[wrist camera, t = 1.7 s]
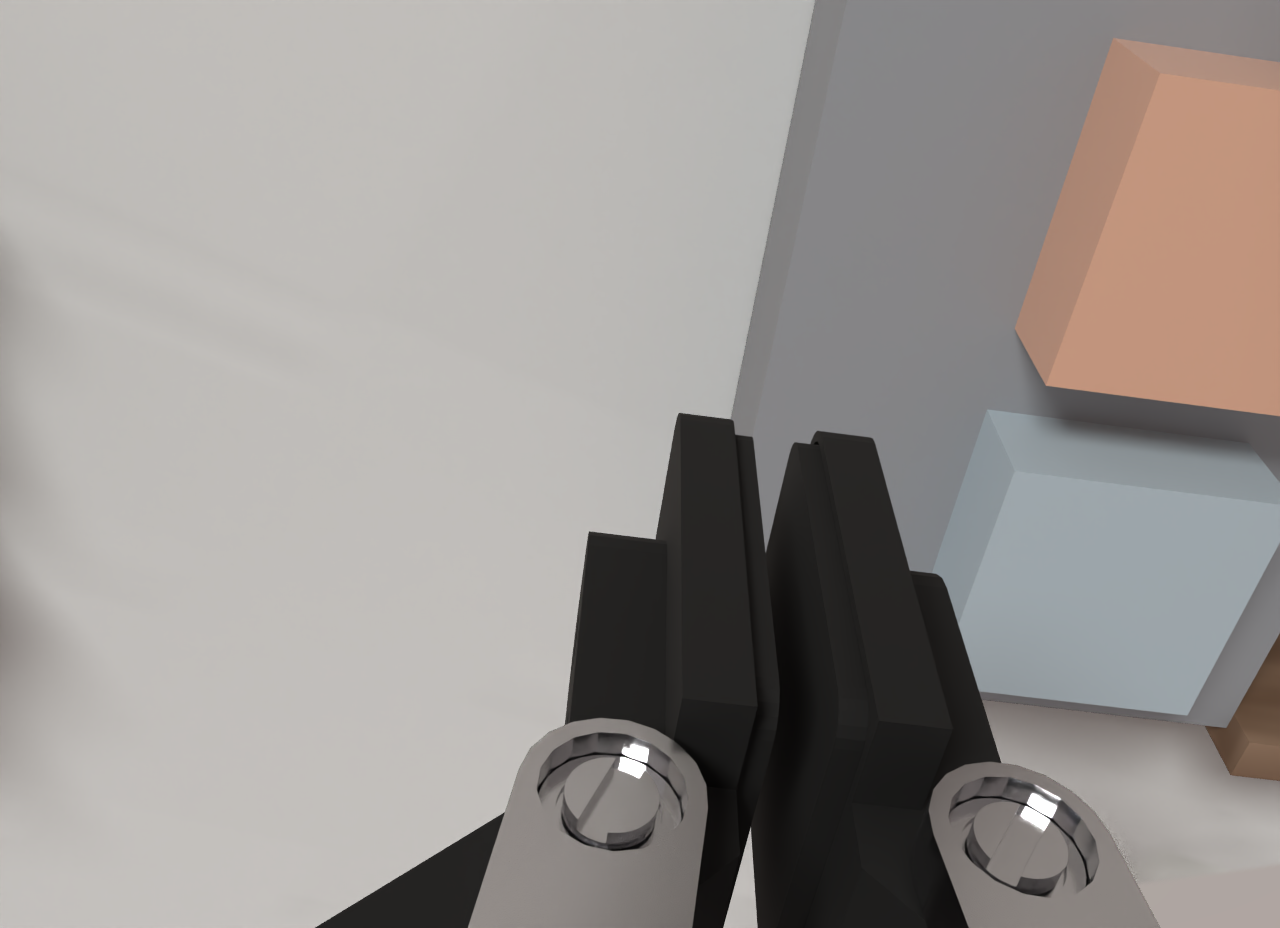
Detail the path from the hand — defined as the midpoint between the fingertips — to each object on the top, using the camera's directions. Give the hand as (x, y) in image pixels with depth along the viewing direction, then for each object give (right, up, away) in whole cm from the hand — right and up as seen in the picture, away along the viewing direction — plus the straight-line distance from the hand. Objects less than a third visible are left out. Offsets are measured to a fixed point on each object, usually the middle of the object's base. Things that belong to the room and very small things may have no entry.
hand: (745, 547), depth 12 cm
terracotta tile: (+10, +6, +11) cm, 16 cm away
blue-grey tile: (+9, -1, +16) cm, 18 cm away
